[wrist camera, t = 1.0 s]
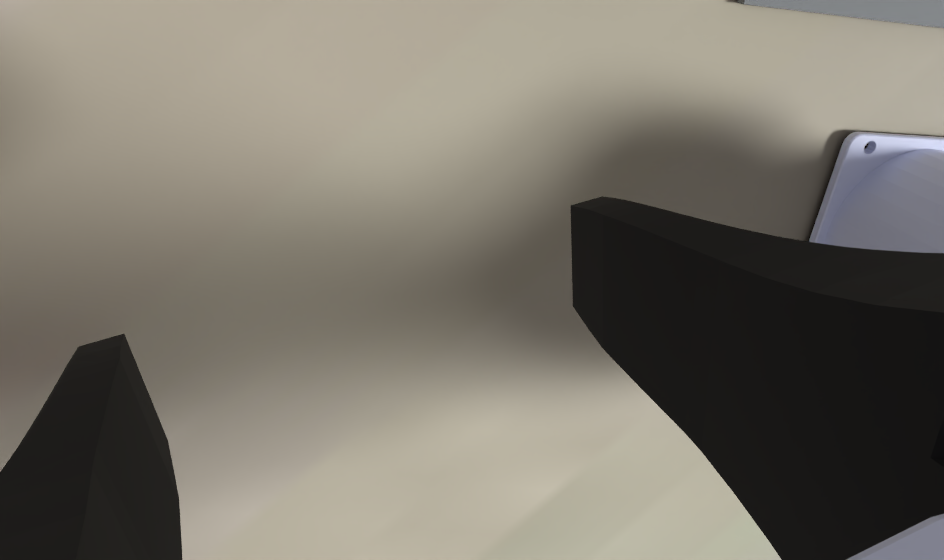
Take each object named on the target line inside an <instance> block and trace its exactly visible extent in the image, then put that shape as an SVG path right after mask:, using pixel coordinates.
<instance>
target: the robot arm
mask: <svg viewBox="0 0 944 560" xmlns="http://www.w3.org/2000/svg"><path fill="white" fill-rule="evenodd" d="M868 142H869V143H868ZM867 143H868V146H867V148H866V149H865V150H864V147H865V145H866V144H867ZM571 238H572V282H573V307H574V308H575V310H576V311H577V313H578V314H579V316H580V317H581V319H582V320H583V321H584V323H585V324H586V326H587V327H588V329H589V330H590V332H591V333H592V334H593V336H594V337H595V338H596V340H597V341H598V342H599V344H600V345H601V346H602V348H603V349H604V350H605V351H606V352H607V353H608V354H609V355H610V356H611V357H612V359H613V360H614V361H615V362H616V363H617V364H618V365H619V366H620V367H621V368H622V369H623V370H624V371H625V372H626V373H627V374H628V375H629V376H630V377H631V378H632V379H633V380H634V381H635V382H636V383H637V384H638V385H639V387H640V388H641V389H642V390H643V391H644V392H645V393H646V394H647V395H648V396H649V397H650V398H651V399H652V400H653V401H654V402H655V403H656V404H657V405H658V406H659V407H660V408H661V409H662V410H663V411H664V412H665V413H666V414H667V415H668V416H669V417H670V418H671V419H672V420H673V421H674V422H675V423H676V424H677V425H678V426H679V427H680V428H681V429H682V430H683V431H684V432H685V433H686V435H687V436H688V437H689V438H690V439H691V440H692V441H693V442H694V444H695V445H696V446H697V447H698V448H699V449H700V450H701V451H702V453H703V454H704V455H705V456H706V458H707V459H708V460H709V462H710V463H711V464H712V465H713V467H714V468H715V469H716V471H717V472H718V473H719V474H720V476H721V477H722V478H723V479H724V481H725V482H726V483H727V485H728V486H729V487H730V488H731V490H732V491H733V492H734V494H735V495H736V496H737V498H738V499H739V500H740V502H741V503H742V504H743V506H744V507H745V509H746V510H747V511H748V513H749V514H750V515H751V517H752V518H753V520H754V521H755V522H756V524H757V525H758V526H759V528H760V529H761V531H762V532H763V533H764V535H765V536H766V537H767V539H768V540H769V542H770V543H771V544H772V546H773V547H774V549H775V550H776V552H777V553H778V555H779V556H780V558H781V559H782V560H944V137H934V136H919V135H903V134H888V133H873V132H853V133H851V134H849V135H848V136H847V137H846V138H845V140H844V142H843V144H842V147H841V149H840V152H839V155H838V158H837V161H836V164H835V167H834V170H833V173H832V176H831V178H830V181H829V184H828V187H827V190H826V193H825V196H824V199H823V202H822V205H821V207H820V210H819V213H818V216H817V219H816V222H815V225H814V228H813V231H812V234H811V236H810V239H809V242H806V241H799V240H794V239H788V238H782V237H777V236H772V235H767V234H762V233H758V232H753V231H748V230H743V229H739V228H735V227H730V226H726V225H722V224H718V223H714V222H710V221H706V220H702V219H698V218H694V217H690V216H686V215H682V214H678V213H675V212H671V211H667V210H663V209H659V208H655V207H652V206H648V205H644V204H639V203H635V202H631V201H626V200H621V199H616V198H609V197H599V198H596V199H592V200H589V201H585V202H582V203H578V204H575V205H571ZM0 560H182V544H181V526H180V509H179V496H178V491H177V486H176V480H175V475H174V470H173V465H172V460H171V455H170V450H169V445H168V440H167V437H166V435H165V433H164V430H163V428H162V425H161V423H160V420H159V418H158V415H157V413H156V411H155V408H154V406H153V403H152V401H151V398H150V396H149V393H148V391H147V389H146V386H145V384H144V381H143V379H142V376H141V374H140V371H139V369H138V367H137V364H136V362H135V359H134V357H133V354H132V352H131V349H130V347H129V345H128V342H127V340H126V337H125V335H124V334H121V335H118V336H114V337H111V338H107V339H104V340H100V341H97V342H93V343H90V344H86V345H83V346H80V347H78V348H77V350H76V352H75V353H74V355H73V356H72V358H71V360H70V361H69V363H68V364H67V366H66V368H65V370H64V371H63V373H62V375H61V377H60V378H59V380H58V382H57V384H56V385H55V387H54V389H53V391H52V392H51V394H50V396H49V397H48V399H47V401H46V403H45V404H44V406H43V408H42V409H41V411H40V413H39V414H38V416H37V417H36V419H35V421H34V422H33V424H32V426H31V427H30V429H29V430H28V432H27V434H26V435H25V437H24V438H23V440H22V442H21V443H20V445H19V446H18V448H17V449H16V451H15V452H14V454H13V455H12V456H11V458H10V459H9V461H8V462H7V464H6V465H5V466H4V468H3V469H2V471H1V472H0Z"/></svg>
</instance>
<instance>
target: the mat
mask: <svg viewBox="0 0 944 560" xmlns="http://www.w3.org/2000/svg"><path fill="white" fill-rule="evenodd" d="M737 3H741V4H747V5H756V6H764V7H772V8H781V9H789V10H798V11H806V12H814V13H823V14H831V15H839V16H848V17H856V18H864V19H873V20H881V21H890V22H898V23H906V24H915V25H923V26H931V27H940V28H944V0H738V1H737Z"/></svg>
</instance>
